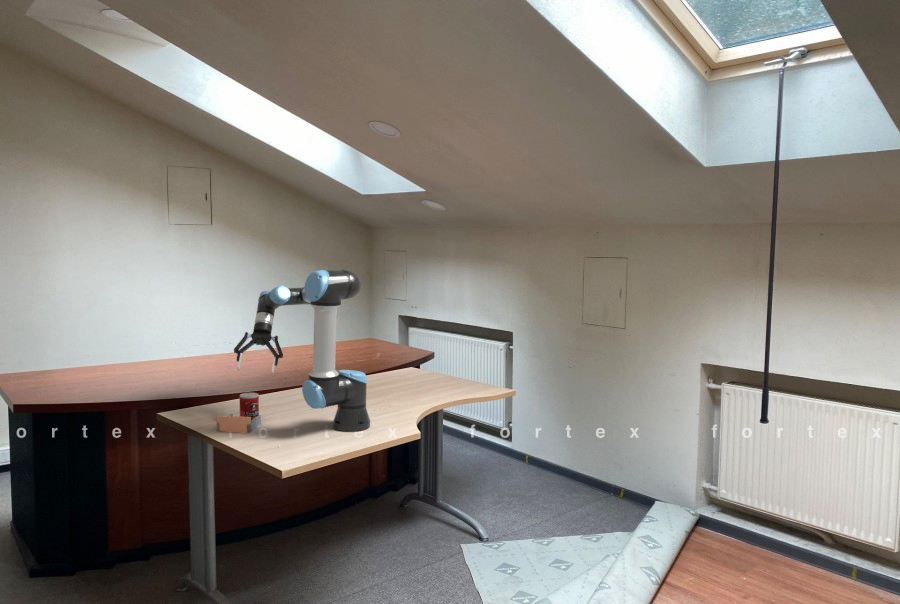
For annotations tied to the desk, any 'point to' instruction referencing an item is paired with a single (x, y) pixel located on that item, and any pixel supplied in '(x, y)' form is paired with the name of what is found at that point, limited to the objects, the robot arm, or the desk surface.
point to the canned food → (249, 405)
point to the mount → (237, 423)
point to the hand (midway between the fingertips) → (255, 370)
